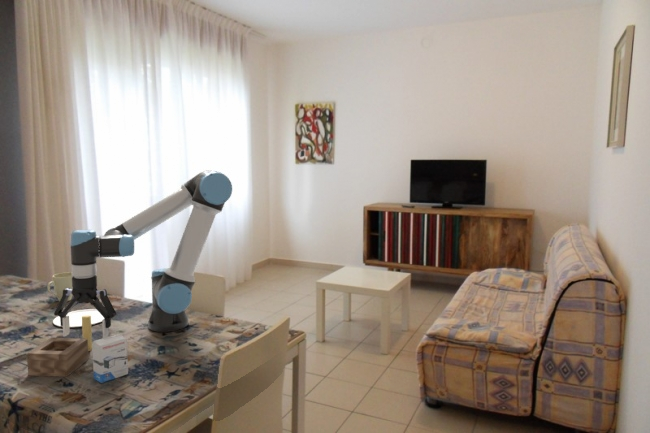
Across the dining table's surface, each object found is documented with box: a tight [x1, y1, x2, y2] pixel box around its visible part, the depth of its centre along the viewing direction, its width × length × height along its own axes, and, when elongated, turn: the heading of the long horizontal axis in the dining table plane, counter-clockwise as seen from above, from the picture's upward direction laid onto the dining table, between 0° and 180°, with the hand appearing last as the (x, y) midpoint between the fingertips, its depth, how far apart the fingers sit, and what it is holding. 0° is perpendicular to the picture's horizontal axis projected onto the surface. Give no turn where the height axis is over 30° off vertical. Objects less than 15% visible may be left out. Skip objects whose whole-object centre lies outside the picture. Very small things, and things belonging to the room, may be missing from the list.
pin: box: [81, 315, 93, 352], centre depth 156 cm, size 3×3×12 cm
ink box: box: [92, 333, 129, 384], centre depth 138 cm, size 9×5×12 cm, turn 141°
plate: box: [52, 308, 104, 329], centre depth 186 cm, size 21×21×1 cm
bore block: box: [26, 337, 89, 377], centre depth 143 cm, size 12×12×7 cm
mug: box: [46, 272, 73, 302], centre depth 207 cm, size 11×10×12 cm
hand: (86, 335), depth 156 cm, fingers open, 13 cm apart
